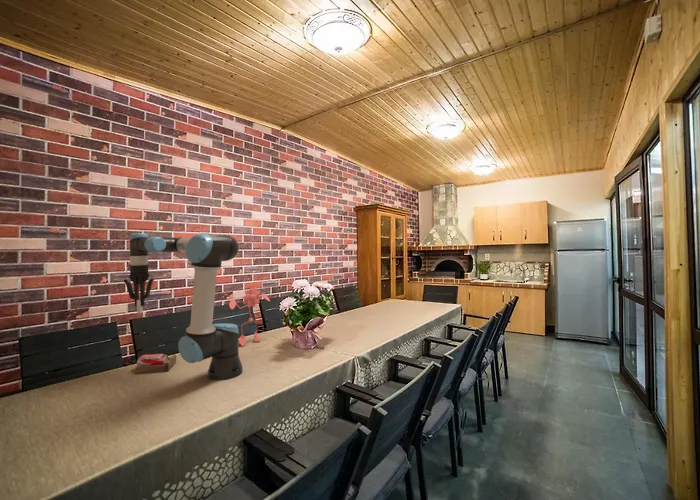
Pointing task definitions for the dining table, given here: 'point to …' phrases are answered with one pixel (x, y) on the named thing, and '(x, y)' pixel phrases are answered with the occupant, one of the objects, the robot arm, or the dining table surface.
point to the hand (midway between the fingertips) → (139, 312)
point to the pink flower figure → (251, 300)
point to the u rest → (157, 367)
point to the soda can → (152, 359)
